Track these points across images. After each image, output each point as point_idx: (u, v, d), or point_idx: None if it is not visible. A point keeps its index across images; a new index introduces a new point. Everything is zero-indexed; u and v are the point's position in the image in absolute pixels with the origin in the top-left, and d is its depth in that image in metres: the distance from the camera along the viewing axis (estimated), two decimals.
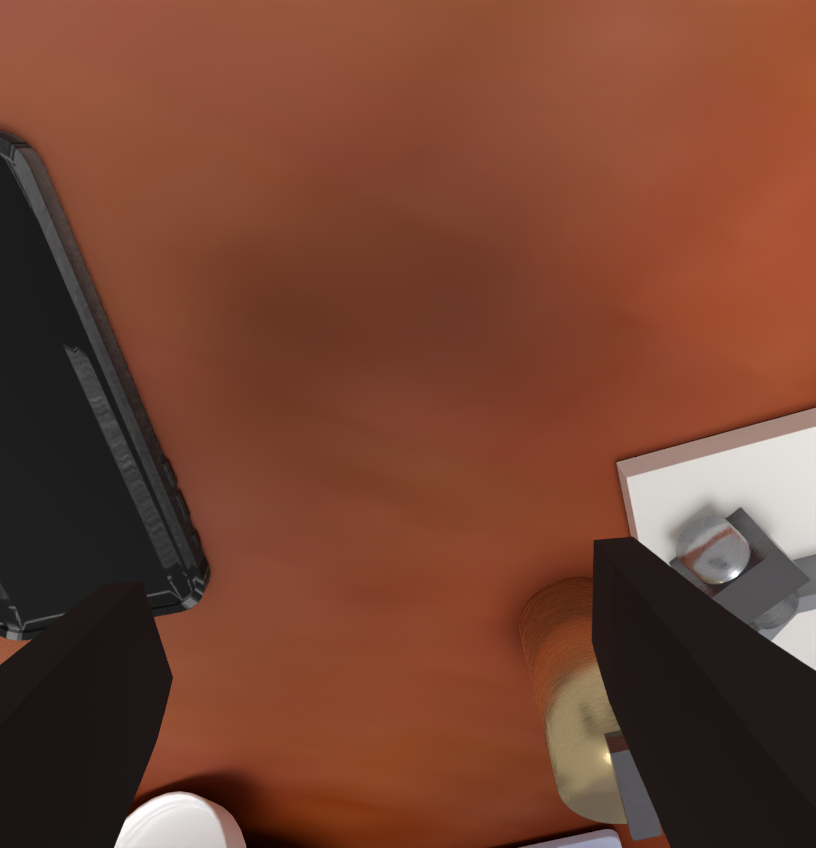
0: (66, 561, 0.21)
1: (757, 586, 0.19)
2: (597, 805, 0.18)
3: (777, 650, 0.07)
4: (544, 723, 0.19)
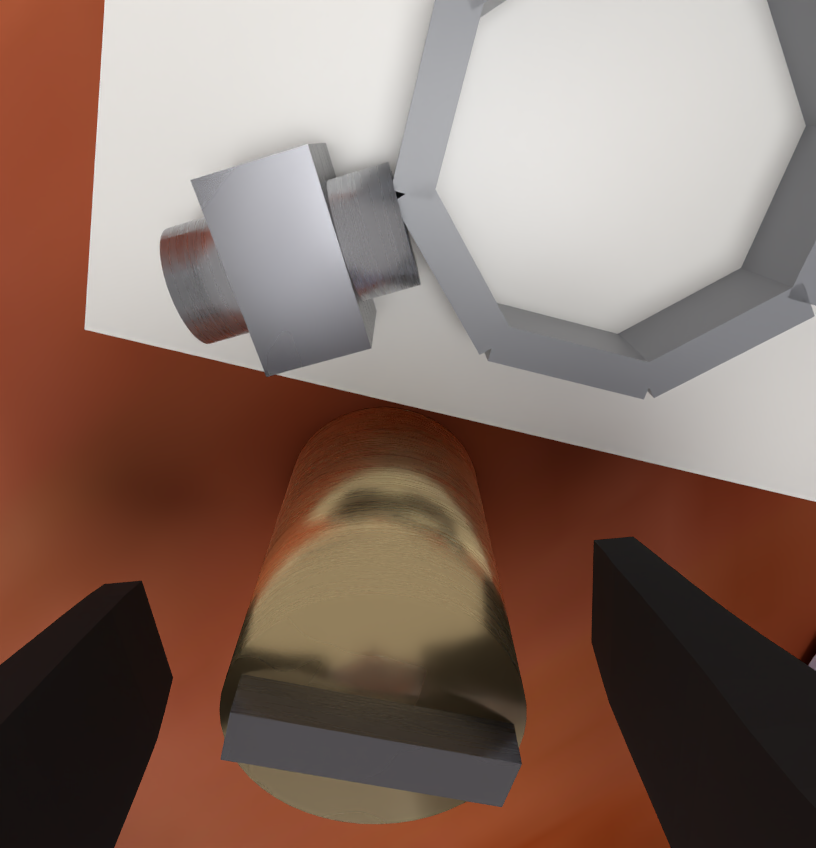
0: None
1: (268, 254, 0.09)
2: None
3: (777, 650, 0.07)
4: None
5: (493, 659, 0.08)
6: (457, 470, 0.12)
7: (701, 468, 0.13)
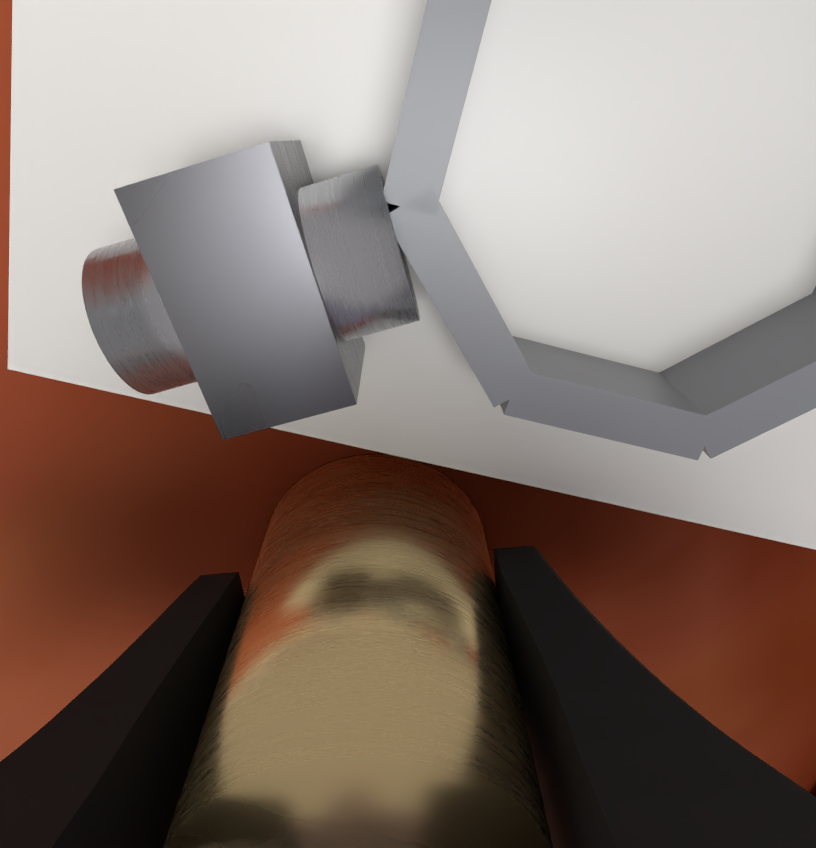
0: None
1: (220, 286, 0.07)
2: None
3: (632, 663, 0.07)
4: None
5: (518, 832, 0.06)
6: (463, 537, 0.10)
7: (753, 528, 0.11)
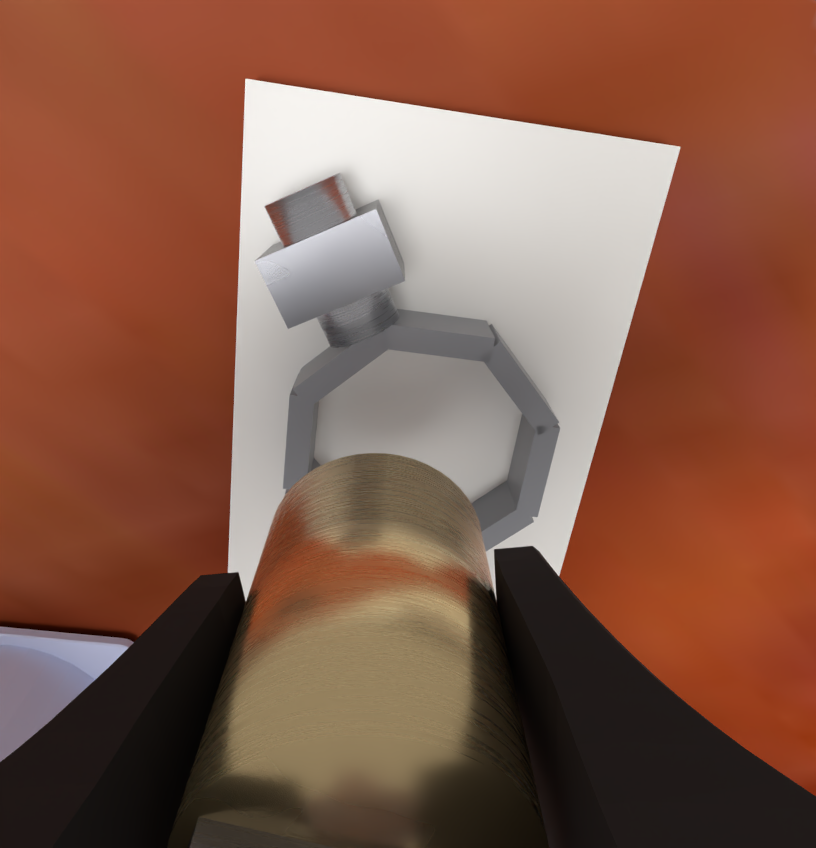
0: None
1: (337, 259, 0.14)
2: None
3: (632, 663, 0.07)
4: None
5: (520, 822, 0.06)
6: (470, 541, 0.10)
7: (233, 528, 0.19)
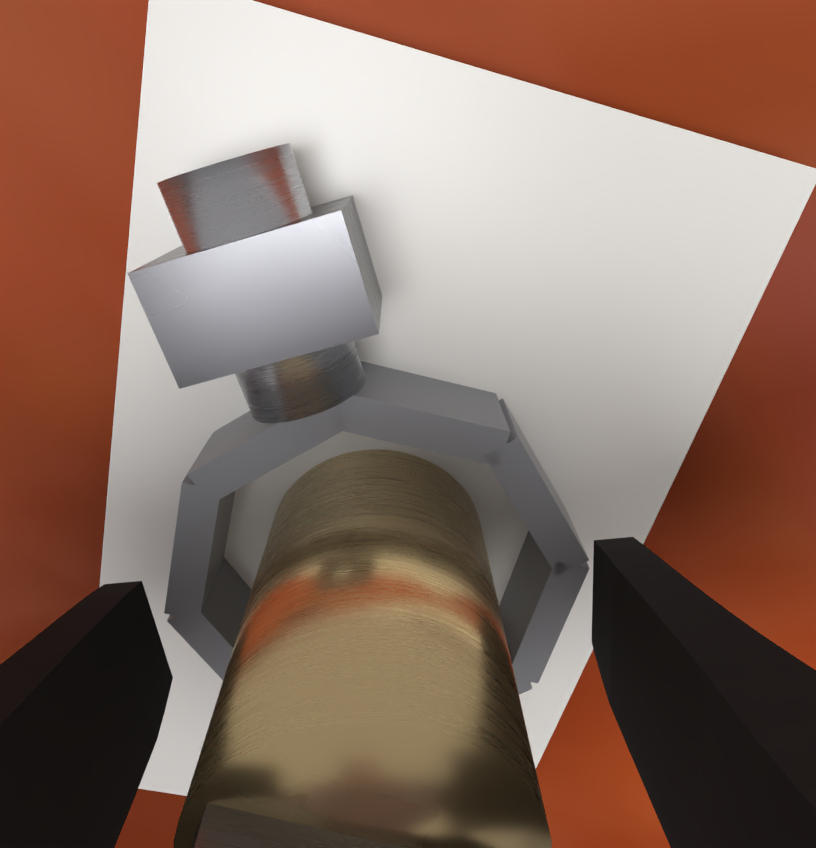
0: None
1: (268, 287, 0.08)
2: None
3: (777, 650, 0.07)
4: None
5: (521, 806, 0.07)
6: (470, 535, 0.10)
7: None
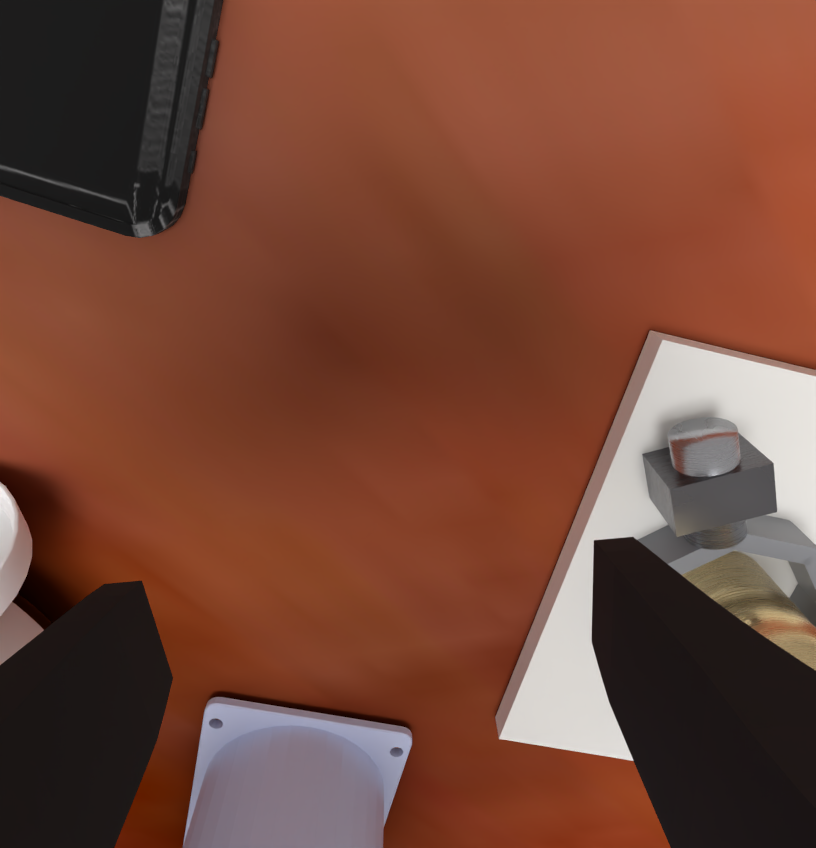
0: (23, 91, 0.16)
1: (732, 493, 0.18)
2: None
3: (777, 650, 0.07)
4: None
5: None
6: None
7: (537, 654, 0.23)
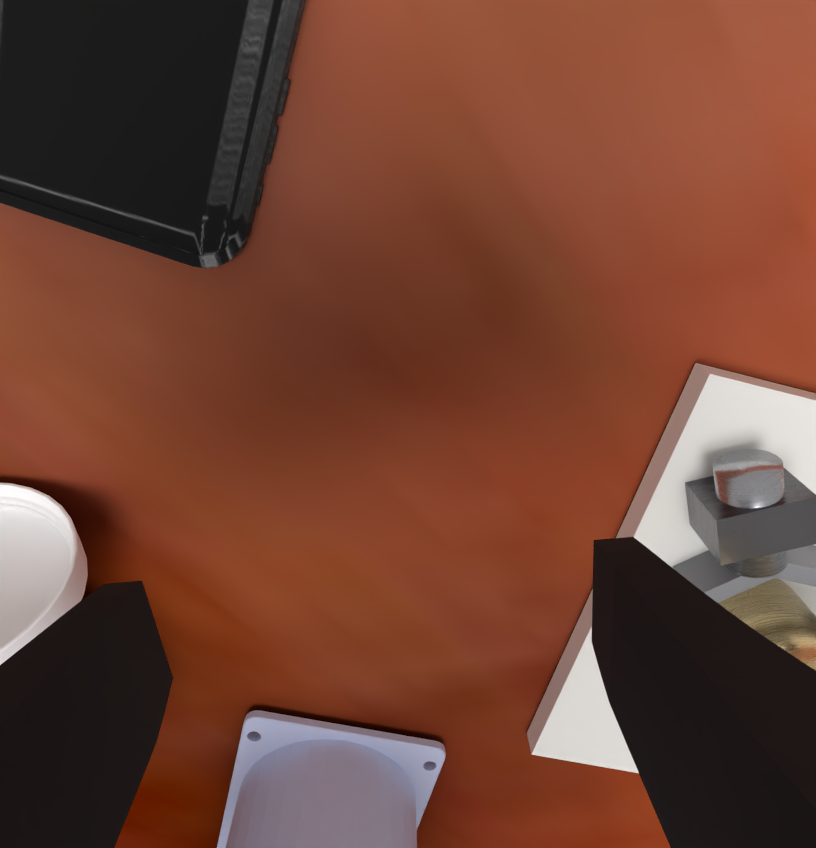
0: (98, 127, 0.16)
1: (776, 525, 0.18)
2: None
3: (777, 650, 0.07)
4: None
5: None
6: None
7: (573, 673, 0.23)
